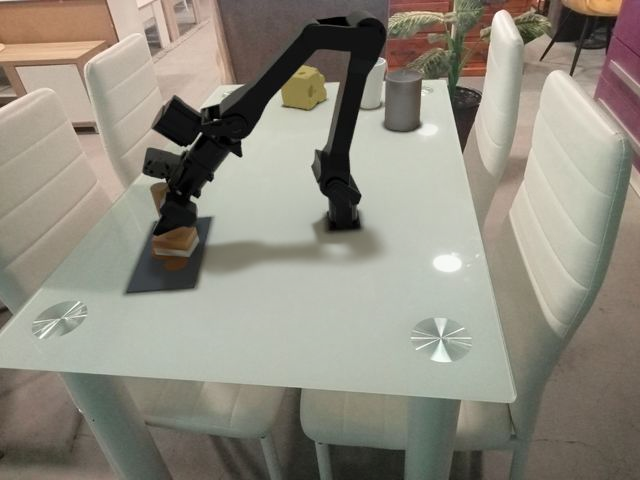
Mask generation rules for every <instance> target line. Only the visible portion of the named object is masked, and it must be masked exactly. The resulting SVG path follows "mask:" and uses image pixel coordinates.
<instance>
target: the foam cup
mask: <svg viewBox="0 0 640 480" xmlns="http://www.w3.org/2000/svg"><path fill="white" fill-rule="evenodd" d="M386 63H387V61H386V59H385V58H383V57H381V56H380V57H379V59H378V61H377V63H376V64H375V66H374V67H373V69H372V70H371V72H370V73H369V75H368V77H367V80H366V85H365V89H364V93H363V97H362V101H361V106H360V109H361V108H362V109H368V110H373V109H376V108H379V107H380V106H381V102H382V101H381V100H382V93H383V86H384V80H385V79H384V78H385V72H386V69H387V68H386Z"/></svg>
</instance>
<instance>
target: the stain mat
mask: <svg viewBox="0 0 640 480" xmlns="http://www.w3.org/2000/svg"><path fill="white" fill-rule="evenodd" d="M211 220H212V216H203V217H198V220H197V221H196V223H195V224H194V225H193V226H192V227H196V231H197V234H198V238H199V243H198V244H197V246H196V248H195V249H194V251H193V252H192V254H191V255H190V257H181V256H168V255H156V253H155V250H154V247H153V244H152V241H151V240H152V238H153V237H154V236H155V235H153V234H152V233H153V230H154V228H155V226H156V224H157V222H158V220H155V221H154V223H153V226H152V228H151V230H150V233H149V235H148V236H147V237H148V238H147V240H146V242H145V245H144V247H143V250H142V252H141V254H140V257H139V259H138V262H137V264H136V266H135V269H134V272H133V274H132V277H131V279H130V281H129V283H128V286H127V289H126V292H125V293H126V294H128V293H143V292H155V291H156V292H157V291H169V290H181V289H182V290H183V289H193V288H195V284H196V280H197V276H198V272H199V268H200V264H201V260H202V256H203V252H204V248H205V244H206V240H207V237H208V232H209V229H210V224H211ZM183 227H185V226H183Z"/></svg>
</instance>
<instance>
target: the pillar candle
mask: <svg viewBox="0 0 640 480" xmlns="http://www.w3.org/2000/svg"><path fill="white" fill-rule="evenodd" d="M384 78H385V79H384V81H385V83H384V88H385V89H384V127H386V128H387V129H389V130H391V131H392V130H394V131H400V132H405V131H406V132H407V131H411V130H415V129H416V128H418V127H419V126H420V123H421V108H422V107H421V105H422V90H423V88H422V87H423V86H422V85H423V74H422V73H421V72H420V71H418V70H415V69H414V70H413V69H403V68H402V69H396V70H395V69H394V70H391V71H389V72H387V73H386V74H385V76H384Z"/></svg>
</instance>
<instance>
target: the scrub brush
mask: <svg viewBox="0 0 640 480" xmlns="http://www.w3.org/2000/svg"><path fill="white" fill-rule="evenodd" d="M149 190H150V193H151V197H152V200H153V203H154V206H155V210H156V212H157V215H158V217H159V218H160V216H161V213H160V212H159V203H160V201H161V200H162V198H163V196H164V195H165V193H166V192H170V190H169V186H168V184H167V183H166V181H165V182H164V181H160V182H155V183H153V184H152V185H150V187H149ZM159 218H158V219H159ZM151 241H152V244H153V247H154V250H155V253H156V255H168V256H181V257H190V255H191V254H192V252H193V251H194V249H195V248H196V246H197V244H198V243H199V238H198V234H197V231H196V227H192V228H188V227H180V228H177V229H174V230H172V231H169V232H167V233H165V234H162V235H160V236H154V237H153V238H152V240H151Z"/></svg>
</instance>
